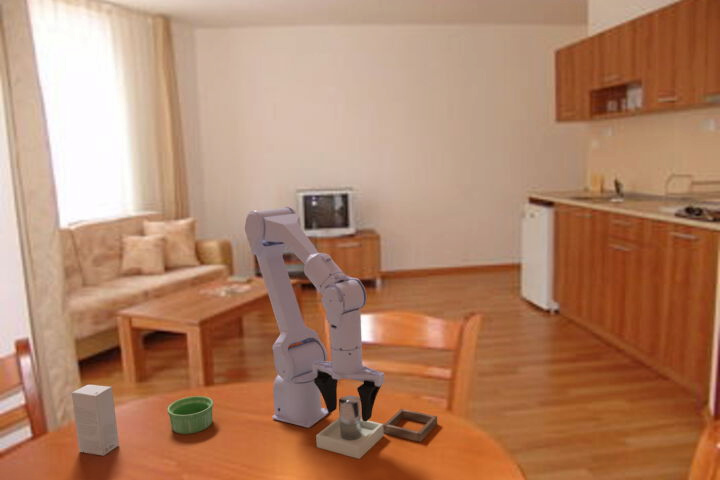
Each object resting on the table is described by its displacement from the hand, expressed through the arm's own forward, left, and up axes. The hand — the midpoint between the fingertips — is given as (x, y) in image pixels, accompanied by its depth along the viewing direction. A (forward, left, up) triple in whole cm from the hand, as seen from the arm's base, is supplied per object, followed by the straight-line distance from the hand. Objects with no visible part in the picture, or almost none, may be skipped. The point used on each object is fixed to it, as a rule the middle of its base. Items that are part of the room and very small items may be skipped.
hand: (349, 414), depth 106 cm
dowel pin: (0, 0, -4) cm, 4 cm away
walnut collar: (+8, +9, -5) cm, 14 cm away
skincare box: (-42, -24, -6) cm, 48 cm away
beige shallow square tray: (0, 0, -5) cm, 5 cm away
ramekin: (-33, -9, -6) cm, 34 cm away
